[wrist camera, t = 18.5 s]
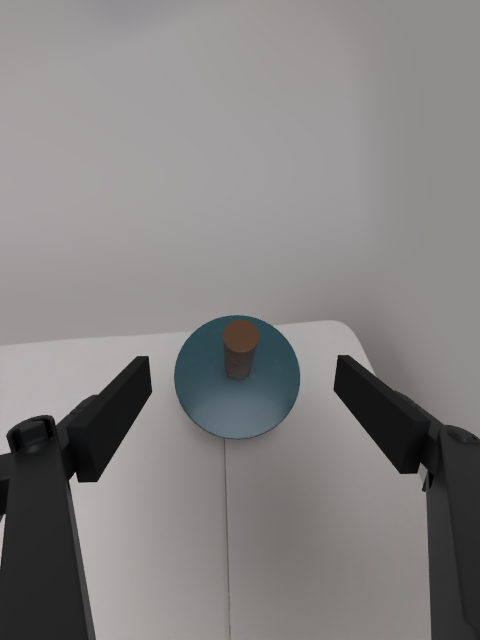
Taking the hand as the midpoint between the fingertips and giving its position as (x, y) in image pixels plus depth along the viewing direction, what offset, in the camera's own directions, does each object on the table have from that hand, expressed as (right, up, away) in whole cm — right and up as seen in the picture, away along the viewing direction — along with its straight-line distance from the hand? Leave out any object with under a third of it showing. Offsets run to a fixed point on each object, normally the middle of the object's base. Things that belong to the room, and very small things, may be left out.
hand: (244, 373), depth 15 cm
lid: (-1, -2, +9) cm, 9 cm away
